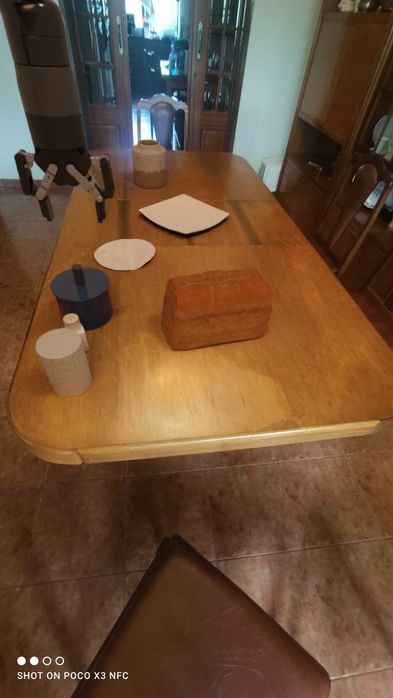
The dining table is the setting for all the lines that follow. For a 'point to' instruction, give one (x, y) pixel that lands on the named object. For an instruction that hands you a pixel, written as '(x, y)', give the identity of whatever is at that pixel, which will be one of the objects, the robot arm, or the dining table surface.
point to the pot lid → (80, 284)
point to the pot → (89, 310)
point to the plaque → (124, 254)
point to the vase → (149, 164)
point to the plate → (184, 215)
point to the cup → (64, 361)
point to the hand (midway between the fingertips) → (76, 220)
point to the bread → (215, 308)
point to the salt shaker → (76, 328)
